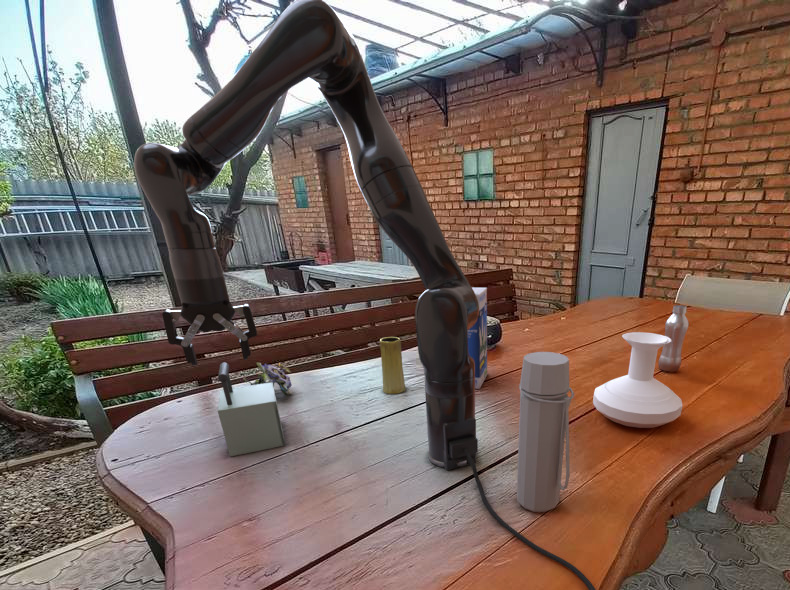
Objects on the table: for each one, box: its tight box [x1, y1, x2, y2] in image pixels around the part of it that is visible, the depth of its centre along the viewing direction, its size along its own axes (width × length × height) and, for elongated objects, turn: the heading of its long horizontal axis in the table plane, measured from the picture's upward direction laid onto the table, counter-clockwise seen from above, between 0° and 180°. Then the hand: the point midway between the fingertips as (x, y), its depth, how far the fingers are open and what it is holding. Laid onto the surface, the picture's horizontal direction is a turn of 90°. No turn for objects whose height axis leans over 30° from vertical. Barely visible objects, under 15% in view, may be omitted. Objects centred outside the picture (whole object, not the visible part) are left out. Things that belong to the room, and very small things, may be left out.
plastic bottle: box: [657, 304, 690, 372], centre depth 129 cm, size 6×7×20 cm
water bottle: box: [516, 351, 575, 513], centre depth 65 cm, size 9×8×25 cm
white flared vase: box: [592, 331, 683, 429], centre depth 98 cm, size 20×20×19 cm
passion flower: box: [242, 362, 293, 396], centre depth 110 cm, size 11×11×12 cm
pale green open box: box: [217, 362, 286, 457], centre depth 87 cm, size 12×16×10 cm
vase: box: [379, 336, 407, 395], centre depth 114 cm, size 6×6×14 cm
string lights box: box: [468, 287, 488, 390], centre depth 119 cm, size 13×8×26 cm, turn 171°
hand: (221, 361), depth 82 cm, fingers open, 8 cm apart
